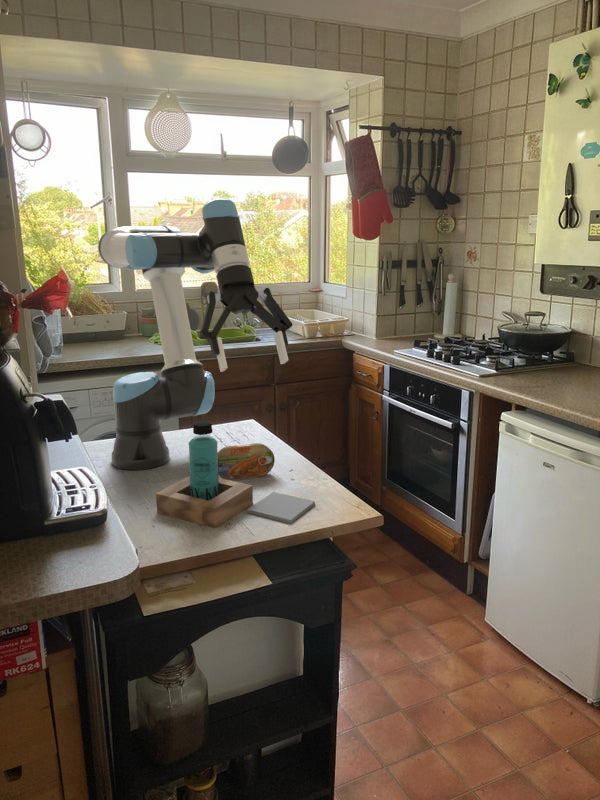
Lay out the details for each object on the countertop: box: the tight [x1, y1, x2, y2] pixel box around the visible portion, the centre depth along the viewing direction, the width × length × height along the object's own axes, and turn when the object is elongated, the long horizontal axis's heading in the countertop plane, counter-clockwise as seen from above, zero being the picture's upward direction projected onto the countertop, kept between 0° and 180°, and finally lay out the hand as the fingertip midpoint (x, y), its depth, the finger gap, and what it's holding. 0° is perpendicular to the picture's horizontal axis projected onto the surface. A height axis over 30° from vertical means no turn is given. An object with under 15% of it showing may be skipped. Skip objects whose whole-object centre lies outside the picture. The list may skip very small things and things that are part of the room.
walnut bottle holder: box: [155, 475, 254, 529], centre depth 141 cm, size 16×14×4 cm
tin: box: [218, 442, 276, 481], centre depth 159 cm, size 15×3×8 cm, turn 105°
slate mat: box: [246, 491, 316, 524], centre depth 141 cm, size 11×11×1 cm
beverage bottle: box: [188, 420, 220, 501], centre depth 139 cm, size 6×7×20 cm
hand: (255, 366), depth 131 cm, fingers open, 13 cm apart
